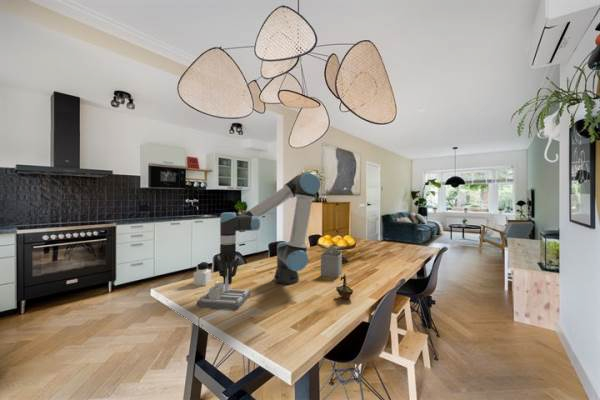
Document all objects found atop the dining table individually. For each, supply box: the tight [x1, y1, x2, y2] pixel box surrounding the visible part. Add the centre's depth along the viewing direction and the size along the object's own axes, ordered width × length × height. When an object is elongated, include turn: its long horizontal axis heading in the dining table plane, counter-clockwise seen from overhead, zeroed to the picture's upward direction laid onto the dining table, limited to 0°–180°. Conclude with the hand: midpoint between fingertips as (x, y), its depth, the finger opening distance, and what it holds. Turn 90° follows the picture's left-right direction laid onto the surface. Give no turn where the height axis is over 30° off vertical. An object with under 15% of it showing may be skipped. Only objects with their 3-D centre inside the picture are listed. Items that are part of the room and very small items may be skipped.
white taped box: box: [214, 280, 225, 293], centre depth 120 cm, size 4×4×5 cm
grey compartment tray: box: [196, 288, 251, 310], centre depth 116 cm, size 20×16×3 cm
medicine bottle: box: [193, 261, 212, 287], centre depth 138 cm, size 7×7×12 cm
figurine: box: [335, 274, 354, 299], centre depth 120 cm, size 10×8×12 cm
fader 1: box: [208, 285, 221, 300], centre depth 112 cm, size 4×4×5 cm
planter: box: [320, 244, 343, 279], centre depth 154 cm, size 16×8×19 cm, turn 116°
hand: (227, 290), depth 120 cm, fingers closed
